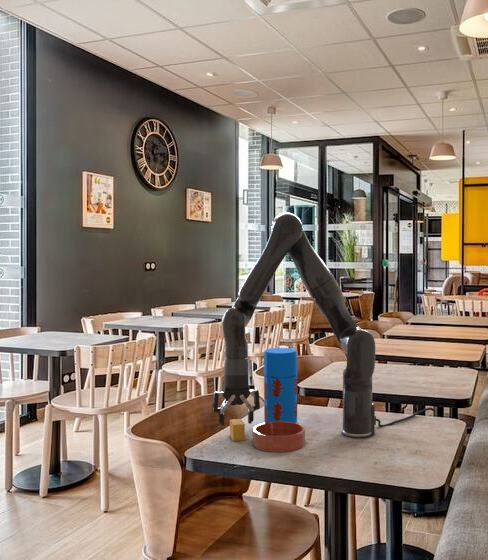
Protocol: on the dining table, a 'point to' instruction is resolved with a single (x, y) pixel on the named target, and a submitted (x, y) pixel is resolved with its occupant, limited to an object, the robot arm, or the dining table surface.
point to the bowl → (279, 436)
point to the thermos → (280, 385)
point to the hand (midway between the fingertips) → (236, 424)
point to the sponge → (237, 430)
